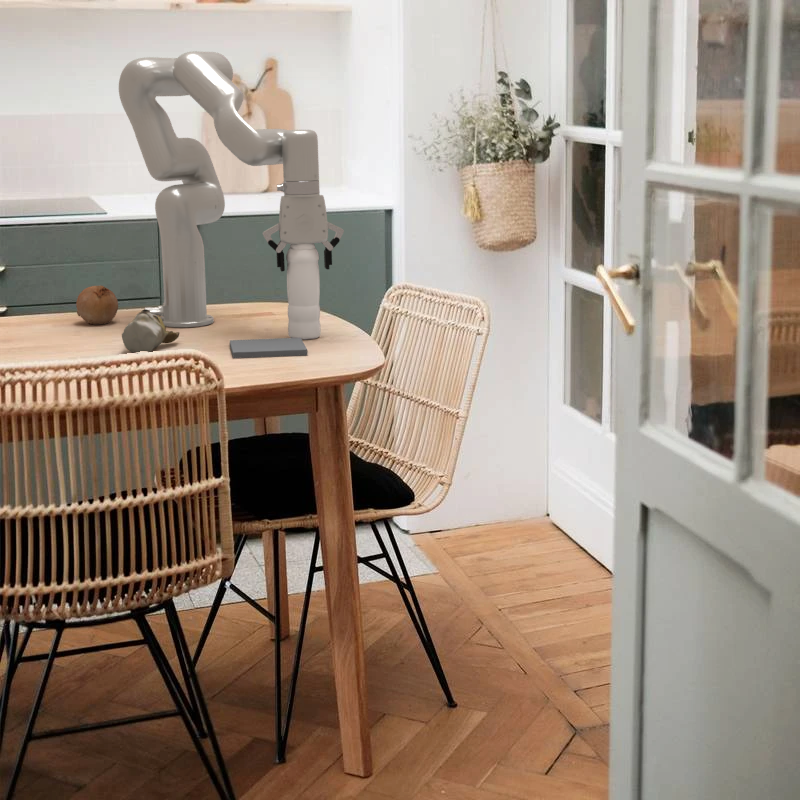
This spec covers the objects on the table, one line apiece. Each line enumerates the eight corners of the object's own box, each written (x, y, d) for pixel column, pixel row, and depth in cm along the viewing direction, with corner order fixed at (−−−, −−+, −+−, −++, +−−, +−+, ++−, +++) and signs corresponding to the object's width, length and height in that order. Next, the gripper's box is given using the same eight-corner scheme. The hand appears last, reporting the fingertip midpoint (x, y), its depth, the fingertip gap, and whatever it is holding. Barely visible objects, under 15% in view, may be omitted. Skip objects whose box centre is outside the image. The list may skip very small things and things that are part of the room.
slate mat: (233, 358, 258) (232, 352, 258) (229, 345, 271) (229, 340, 270) (307, 355, 261) (307, 349, 261) (300, 343, 273) (300, 337, 273)
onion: (111, 337, 296) (121, 301, 291) (70, 328, 293) (79, 291, 288) (114, 316, 303) (123, 280, 298) (73, 307, 301) (82, 271, 296)
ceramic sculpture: (108, 312, 260) (133, 304, 275) (109, 354, 262) (134, 344, 276) (159, 314, 259) (182, 306, 273) (160, 356, 260) (182, 346, 275)
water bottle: (315, 340, 276) (313, 223, 270) (284, 339, 277) (281, 223, 271) (324, 334, 282) (322, 220, 276) (293, 333, 284) (290, 219, 278)
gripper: (262, 191, 267) (265, 273, 271) (344, 189, 270) (347, 270, 274) (259, 189, 274) (263, 269, 278) (339, 186, 277) (342, 265, 281)
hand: (304, 269), depth 276 cm, fingers open, 9 cm apart
